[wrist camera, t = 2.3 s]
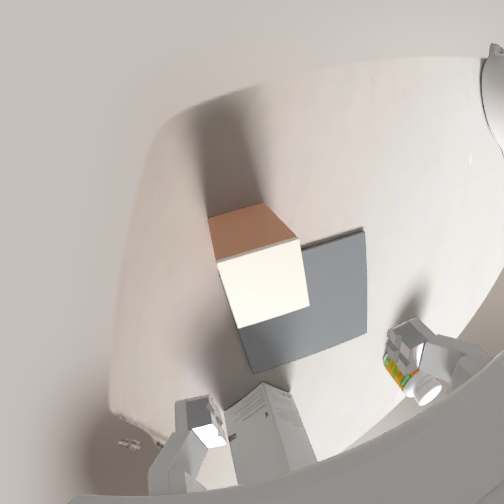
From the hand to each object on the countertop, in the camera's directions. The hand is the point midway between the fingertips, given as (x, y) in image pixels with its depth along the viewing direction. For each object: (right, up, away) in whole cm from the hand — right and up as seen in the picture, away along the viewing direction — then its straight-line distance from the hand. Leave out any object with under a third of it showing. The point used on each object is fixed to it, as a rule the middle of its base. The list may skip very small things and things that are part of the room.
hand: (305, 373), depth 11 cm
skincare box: (-2, -16, +25) cm, 29 cm away
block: (-3, +6, +15) cm, 16 cm away
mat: (+3, -1, +19) cm, 20 cm away
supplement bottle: (+20, -10, +27) cm, 35 cm away
